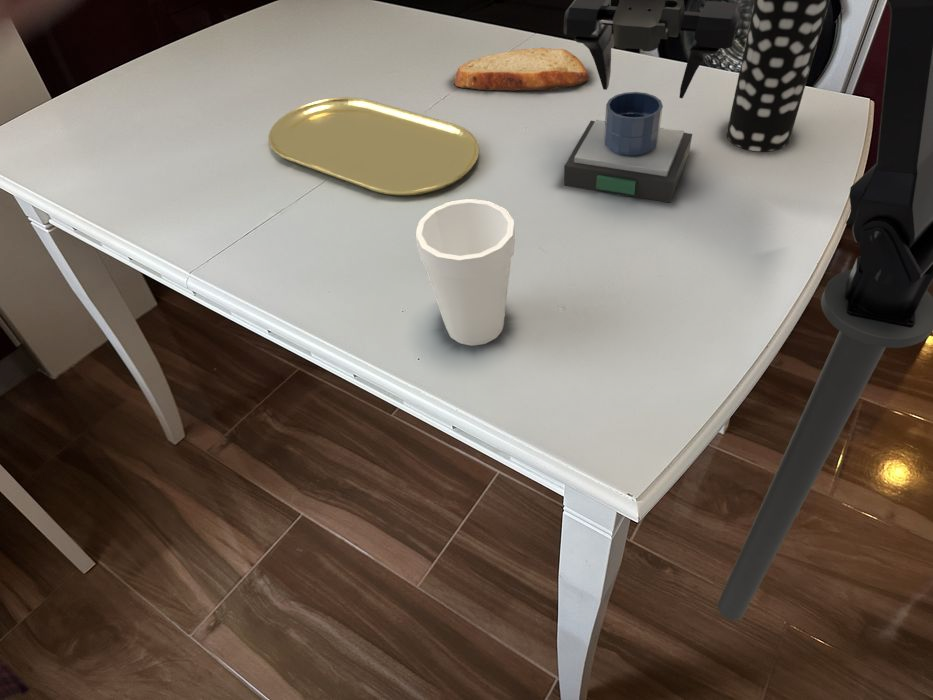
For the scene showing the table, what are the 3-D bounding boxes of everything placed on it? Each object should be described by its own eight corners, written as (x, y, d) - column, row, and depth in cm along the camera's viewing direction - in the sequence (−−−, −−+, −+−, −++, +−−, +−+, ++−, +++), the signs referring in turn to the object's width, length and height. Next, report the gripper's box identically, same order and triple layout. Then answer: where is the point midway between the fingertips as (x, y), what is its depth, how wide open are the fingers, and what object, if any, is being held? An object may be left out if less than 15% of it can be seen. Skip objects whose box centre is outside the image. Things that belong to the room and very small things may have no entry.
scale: (689, 153, 94) (693, 128, 91) (669, 205, 86) (673, 179, 83) (589, 139, 98) (591, 115, 95) (562, 187, 91) (563, 162, 88)
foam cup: (489, 368, 70) (480, 271, 60) (415, 338, 74) (396, 242, 64) (533, 310, 75) (531, 213, 66) (462, 285, 79) (451, 190, 69)
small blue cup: (662, 134, 90) (667, 95, 86) (650, 162, 86) (655, 121, 82) (611, 128, 93) (614, 89, 89) (597, 154, 88) (600, 114, 84)
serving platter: (329, 97, 114) (326, 87, 113) (505, 147, 99) (504, 137, 97) (245, 150, 104) (242, 141, 103) (426, 216, 89) (425, 206, 88)
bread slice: (445, 81, 114) (443, 59, 112) (527, 46, 121) (527, 24, 118) (514, 119, 104) (513, 95, 101) (599, 78, 110) (601, 55, 108)
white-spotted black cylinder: (722, 147, 94) (754, -8, 79) (730, 117, 99) (762, -33, 84) (787, 155, 91) (833, -3, 77) (792, 124, 96) (836, -30, 82)
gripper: (547, -27, 70) (548, 115, 81) (738, -17, 64) (710, 136, 75) (580, -63, 77) (576, 73, 88) (756, -57, 70) (727, 89, 82)
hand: (643, 92), depth 83 cm, fingers open, 9 cm apart
